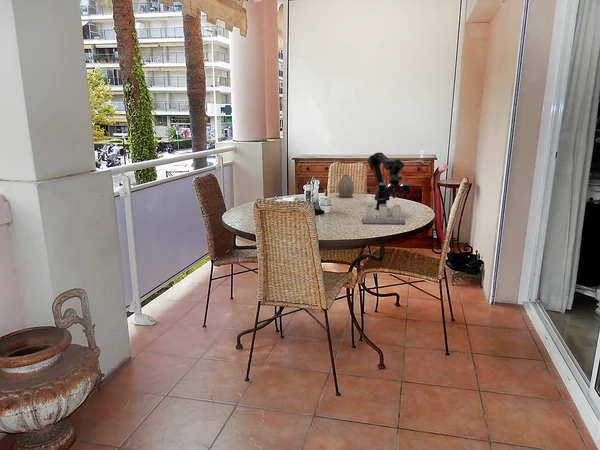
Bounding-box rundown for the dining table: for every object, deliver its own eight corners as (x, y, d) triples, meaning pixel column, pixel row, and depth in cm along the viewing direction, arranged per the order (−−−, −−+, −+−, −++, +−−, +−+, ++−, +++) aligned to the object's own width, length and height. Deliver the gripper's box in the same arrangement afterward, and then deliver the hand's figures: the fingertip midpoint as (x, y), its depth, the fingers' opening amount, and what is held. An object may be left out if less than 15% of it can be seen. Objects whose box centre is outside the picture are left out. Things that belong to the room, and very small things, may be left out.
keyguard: (362, 218, 266) (362, 214, 265) (403, 219, 263) (403, 215, 262) (362, 222, 256) (362, 218, 255) (405, 223, 253) (405, 219, 252)
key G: (365, 219, 263) (366, 204, 261) (373, 219, 263) (373, 204, 261) (365, 220, 259) (366, 205, 257) (373, 220, 259) (373, 206, 257)
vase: (340, 198, 335) (340, 176, 331) (335, 196, 348) (335, 174, 344) (356, 198, 338) (357, 175, 334) (350, 195, 351) (351, 173, 347)
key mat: (362, 219, 267) (362, 218, 267) (402, 220, 264) (402, 218, 264) (362, 224, 256) (362, 222, 256) (405, 224, 253) (405, 223, 253)
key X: (378, 218, 265) (379, 203, 262) (386, 218, 264) (386, 204, 262) (379, 220, 260) (379, 205, 258) (386, 220, 260) (387, 205, 258)
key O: (392, 218, 264) (393, 204, 262) (399, 218, 263) (400, 204, 261) (393, 220, 259) (393, 205, 257) (400, 220, 259) (401, 205, 257)
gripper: (379, 169, 268) (379, 190, 260) (410, 169, 265) (411, 190, 257) (378, 180, 278) (378, 200, 269) (408, 180, 275) (409, 201, 267)
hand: (394, 198), depth 266 cm, fingers closed
